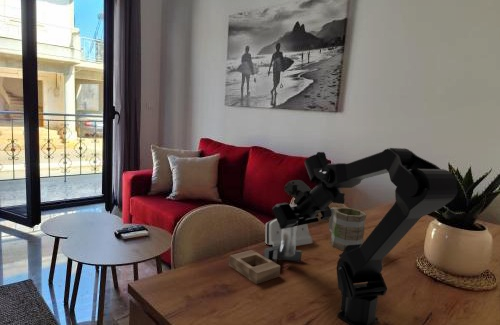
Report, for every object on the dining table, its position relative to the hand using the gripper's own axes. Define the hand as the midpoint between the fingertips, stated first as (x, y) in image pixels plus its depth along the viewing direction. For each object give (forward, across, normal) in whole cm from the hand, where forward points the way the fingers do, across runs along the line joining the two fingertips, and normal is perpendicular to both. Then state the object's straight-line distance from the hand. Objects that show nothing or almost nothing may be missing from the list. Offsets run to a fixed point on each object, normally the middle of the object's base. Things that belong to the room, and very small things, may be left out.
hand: (286, 226), depth 97 cm
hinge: (+16, -13, 0) cm, 20 cm away
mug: (+9, -30, +7) cm, 32 cm away
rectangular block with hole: (+8, +11, +8) cm, 15 cm away
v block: (+9, 0, +7) cm, 11 cm away
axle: (+4, 0, +6) cm, 8 cm away
